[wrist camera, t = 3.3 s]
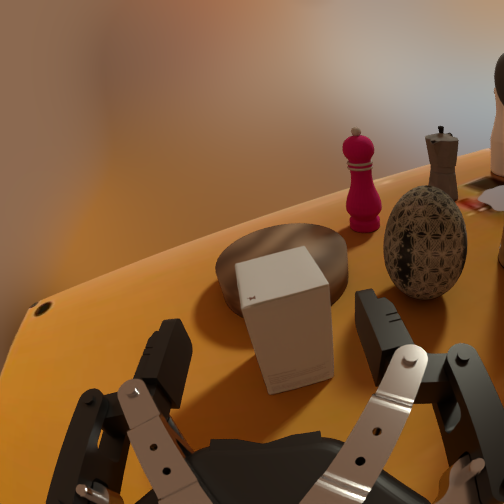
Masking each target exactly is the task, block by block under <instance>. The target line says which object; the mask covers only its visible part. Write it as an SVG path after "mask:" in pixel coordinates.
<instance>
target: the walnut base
mask: <svg viewBox="0 0 504 504" xmlns="http://www.w3.org/2000/svg"><path fill="white" fill-rule="evenodd" d="M301 246H305V247H306V249H307V250H308V252H309V253H310V255H311V256H312V258H313V259H314V261H315V262H316V264H317V265H318V267H319V268H320V270H321V272H322V273H323V275H324V276H325V278H326V280H327V281H328V283H329V291H330V304H331V305H332V304H334V303H335V302H336V301H337V300H338V299H339V298H340V296H341V295H342V294H343V292H344V291H345V289H346V287H347V284H348V258H347V245H346V242H345V240H344V239H343V237H342V236H341V235H340V234H338V233H337V232H335V231H334V230H332V229H330V228H327V227H324V226H320V225H314V224H305V223H295V224H283V225H277V226H272V227H268V228H264V229H261V230H258V231H255V232H253V233H250V234H248V235H246V236H244V237H242V238H240V239H238V240H237V241H235V242H234V243H232V244H231V245H230V246H228V247H227V248H226V249H225V250H224V251H223V252H222V253H221V255H220V256H219V258H218V260H217V262H216V267H215V270H216V275H217V277H218V280H219V283H220V286H221V289H222V292H223V295H224V298H225V301H226V303H227V305H228V306H229V308H230V309H231V310H232V311H233V312H235V313H236V314H237V315H239V316H241V317H243V313H242V310H241V304H240V297H239V290H238V285H237V277H236V270H235V264H236V263H240V262H244V261H248V260H252V259H255V258H259V257H263V256H266V255H270V254H274V253H278V252H282V251H285V250H289V249H293V248H297V247H301ZM243 318H244V317H243Z"/></svg>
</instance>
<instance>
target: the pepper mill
mask: <svg viewBox="0 0 504 504" xmlns="http://www.w3.org/2000/svg"><path fill="white" fill-rule="evenodd" d="M351 132H352V135H353V136H351V137H348V138H347V139H346V140H345V141H344V143H343V153H344V155H345V157H346V158H347V159H348V160H349V161H348V162H347V164H348V169H349V170H350V173H351V186H350V190H349V193H348V196H347V201H346V209H347V212H348V213H349V214H350V215H351V217H350V227H351V229H352V230H354V231H357V232H361V233H367V232H373V231H375V230H377V229H378V228H379V227H380V218H379V216H378V214H379V213H380V211H381V208H382V206H381V200H380V197H379V195H378V193H377V191H376V189H375V186H374V184H373V180H372V171H371V169H372V168H373V165H372V163H373V161H372V160H371V157H372V156H373V154H374V146H373V143H372V141H371V140H370V139H369V138H367V137H365V136H362V135H360V134H361V131H360V129H359V128H357V127H354V128H352V130H351Z"/></svg>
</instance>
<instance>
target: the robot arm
mask: <svg viewBox="0 0 504 504" xmlns="http://www.w3.org/2000/svg"><path fill="white" fill-rule="evenodd" d="M494 79H495V87H496V91H497V94H498V97H499V99H500V101H501V103H502V104H503V106H504V53H503V54H502V55H501V56H500V58H499V59H498V61H497V64H496V68H495V75H494ZM498 259H499V262H500V263H501V265H502V266H503V267H504V227H503V233H502V239H501V243H500V249H499V254H498ZM355 324H356V329H357V332H358V335H359V338H360V340H361V343H362V346H363V349H364V352H365V355H366V358H367V361H368V364H369V367H370V370H371V373H372V377H373V380H374V383H375V386H376V387H377V386H379V387H378V389H377V391H376V393H375V394H373V395H372V396H371V398H370V400H369V402H368V404H367V405H366V407H365V409H364V411H363V413H362V415H361V416H360V418H359V420H358V422H357V423H356V425H355V427H354V428H353V430H352V432H351V433H350V435H349V437H348V438H347V440H346V442H342V441H340V440H336V439H332V438H325V437H321V433H320V431H316V432H310V433H303V434H295V435H290V436H288V437H285V438H281V439H278V440H275V441H272V442H269V443H264V444H262V443H255V442H249V441H244V440H239V439H211V441H210V446H208V447H205V448H202V449H200V450H198V451H196V452H194V450H193V449H192V448H191V447H190V446H189V444H188V443H187V441H186V440H185V438H184V437H183V435H182V433H181V432H180V430H179V429H178V427H177V425H176V424H175V422H174V420H173V419H172V417H171V416H170V414H169V413H170V409H180V404H181V400H182V395H183V391H184V387H185V382H186V378H187V374H188V369H189V365H190V361H191V357H192V343H191V340H190V338H189V336H188V334H187V332H186V330H185V328H184V326H183V324H182V322H181V320H180V319H168V320H163V322H162V324H161V326H160V329H159V331H155V332H154V333H153V335H152V336H151V337H150V338H149V339H148V342H147V344H146V347H145V348H146V349H144V352H143V356H142V357H141V359H140V362H139V364H138V367H137V370H136V372H135V375H134V378H133V379H131V380H128V381H126V382H125V383H123V384H122V385H121V387H120V388H119V390H118V392H115V393H111V394H107V395H103V394H102V392H101V391H100V390H98V389H89V390H87V391H86V392H84V393H83V394H82V395H81V397H80V399H79V401H78V403H77V406H76V409H75V411H74V414H73V417H72V419H71V422H70V425H69V427H68V430H67V433H66V436H65V439H64V442H63V445H62V448H61V451H60V454H59V457H58V460H57V464H56V467H55V470H54V474H53V477H52V481H51V484H50V488H49V492H48V496H47V500H46V504H124V501H123V499H122V497H121V496H120V491H121V486H122V480H123V475H124V470H125V465H126V460H127V455H128V451H129V446H130V442H131V444H132V446H133V449H134V451H135V453H136V455H137V458H138V460H139V462H140V464H141V466H142V468H143V470H144V472H145V474H146V476H147V478H148V480H149V482H150V484H151V486H152V488H153V489H152V490H150V491H149V492H148V493H147V494H146V495H145V496H143V497H142V498H141V499H140V500H139V501H137V502H136V503H135V504H431V503H430V502H429V501H428V500H427V499H426V498H424V497H423V496H421V495H420V494H418V493H417V492H415V491H414V490H412V489H410V488H409V487H407V486H406V485H404V484H403V483H402V482H400V481H399V480H397V479H396V478H394V477H393V476H391V475H390V474H389V473H387V472H386V471H384V470H383V467H384V466H385V464H386V462H387V460H388V458H389V456H390V454H391V452H392V450H393V448H394V446H395V444H396V442H397V440H398V438H399V436H400V434H401V431H402V429H403V427H404V425H405V422H406V420H407V418H408V415H409V413H410V411H411V408H412V405H413V404H428V403H432V406H433V409H434V412H435V415H436V419H437V422H438V425H439V429H440V432H441V436H442V440H443V443H444V447H445V451H446V455H447V459H448V464H449V468H448V469H447V470H446V471H445V472H444V473H443V475H442V476H441V478H440V481H439V493H438V496H437V498H436V499H435V501H434V502H433V503H432V504H503V503H504V408H503V406H502V403H501V401H500V399H499V396H498V394H497V392H496V390H495V387H494V385H493V383H492V381H491V379H490V377H489V375H488V373H487V371H486V369H485V367H484V365H483V363H482V361H481V359H480V357H479V355H478V353H477V351H476V350H475V349H474V348H473V347H472V346H470V345H468V344H464V343H460V344H456V345H454V346H452V347H451V348H450V349H449V351H448V353H445V354H430V353H426V352H425V350H424V349H422V348H421V347H419V346H417V345H415V344H414V342H413V340H412V338H411V337H410V335H409V333H408V331H407V329H406V327H405V325H404V323H403V321H402V320H401V317H400V316H399V314H398V313H397V310H396V308H395V306H394V305H393V303H392V302H390V301H389V300H388V299H386V298H385V297H383V298H379V299H378V298H377V296H376V295H375V293H374V291H373V289H372V288H371V289H366V290H361V291H356V292H355ZM101 429H102V430H103V434H102V438H101V441H100V445H99V448H98V447H97V442H98V439H99V435H100V432H101Z"/></svg>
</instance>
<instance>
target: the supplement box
mask: <svg viewBox="0 0 504 504" xmlns="http://www.w3.org/2000/svg"><path fill="white" fill-rule="evenodd" d="M235 270H236V277H237V285H238V290H239V297H240V304H241V310H242V313H243V317H244V320H245V323H246V326H247V329H248V333H249V336H250V339H251V342H252V345H253V348H254V351H255V354H256V357H257V360H258V363H259V366H260V369H261V372H262V375H263V378H264V381H265V384H266V387H267V390H268V394H269V395H271V394H275V393H280V392H284V391H288V390H292V389H296V388H299V387H303V386H307V385H310V384H313V383H317V382H320V381H324V380H327V379H329V378H332V377H333V376H334V358H333V336H332V319H331V304H330V291H329V283H328V281H327V280H326V278H325V276H324V275H323V273H322V272H321V270H320V268H319V267H318V265H317V264H316V262H315V261H314V259H313V258H312V256H311V255H310V253H309V252H308V250H307V249H306V247H305V246H301V247H297V248H293V249H289V250H285V251H282V252H278V253H274V254H270V255H266V256H263V257H259V258H255V259H252V260H248V261H244V262H240V263H236V264H235Z"/></svg>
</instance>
